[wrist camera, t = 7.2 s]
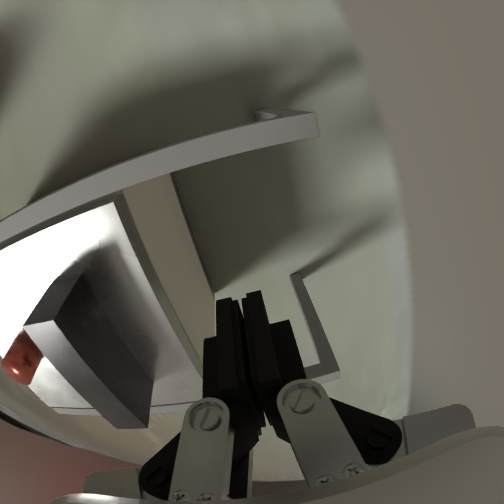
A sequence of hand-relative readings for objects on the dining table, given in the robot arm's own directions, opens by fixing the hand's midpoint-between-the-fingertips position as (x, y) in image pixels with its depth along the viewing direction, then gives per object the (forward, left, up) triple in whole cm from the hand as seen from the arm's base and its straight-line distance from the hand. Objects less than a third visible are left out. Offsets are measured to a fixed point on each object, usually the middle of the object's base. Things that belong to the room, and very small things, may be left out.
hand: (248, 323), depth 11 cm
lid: (0, -10, -2) cm, 10 cm away
